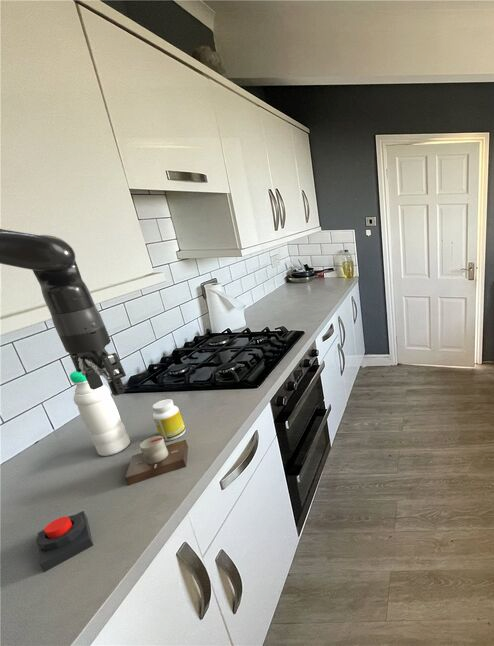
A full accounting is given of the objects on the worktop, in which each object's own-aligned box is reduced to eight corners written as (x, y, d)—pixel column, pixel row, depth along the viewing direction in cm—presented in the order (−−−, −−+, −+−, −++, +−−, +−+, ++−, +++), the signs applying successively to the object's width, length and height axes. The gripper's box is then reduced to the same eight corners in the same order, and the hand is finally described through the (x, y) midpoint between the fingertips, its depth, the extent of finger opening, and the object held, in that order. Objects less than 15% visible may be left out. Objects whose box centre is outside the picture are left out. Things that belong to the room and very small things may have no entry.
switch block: (42, 540, 72) (33, 526, 71) (87, 517, 77) (80, 504, 76) (44, 572, 66) (35, 557, 65) (93, 545, 71) (86, 531, 70)
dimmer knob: (144, 466, 88) (137, 449, 86) (147, 455, 92) (140, 438, 90) (167, 459, 90) (161, 442, 88) (169, 448, 94) (163, 432, 92)
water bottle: (117, 456, 95) (82, 377, 86) (91, 457, 95) (53, 378, 86) (137, 439, 102) (106, 364, 93) (113, 440, 102) (80, 364, 93)
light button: (47, 531, 70) (43, 525, 70) (71, 519, 73) (68, 513, 72) (48, 542, 68) (44, 536, 67) (73, 529, 71) (70, 523, 70)
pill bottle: (190, 427, 107) (180, 396, 103) (178, 441, 101) (166, 409, 97) (169, 428, 106) (158, 398, 102) (156, 442, 100) (143, 410, 96)
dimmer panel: (128, 485, 86) (124, 477, 85) (135, 463, 93) (131, 455, 92) (186, 466, 91) (183, 458, 90) (188, 446, 98) (185, 438, 98)
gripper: (41, 330, 76) (71, 394, 82) (79, 338, 71) (108, 404, 77) (83, 319, 82) (108, 378, 88) (120, 325, 78) (144, 387, 83)
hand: (108, 390), depth 83 cm, fingers open, 8 cm apart
